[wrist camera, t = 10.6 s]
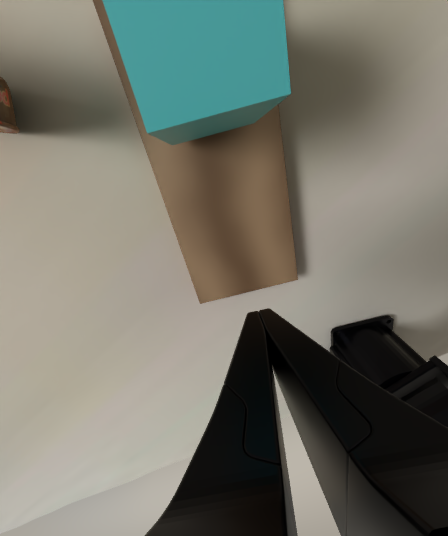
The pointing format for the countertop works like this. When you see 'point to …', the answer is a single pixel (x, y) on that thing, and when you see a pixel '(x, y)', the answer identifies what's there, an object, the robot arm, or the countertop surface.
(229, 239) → the walnut board
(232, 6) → the teal block
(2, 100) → the tin
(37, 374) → the countertop surface
